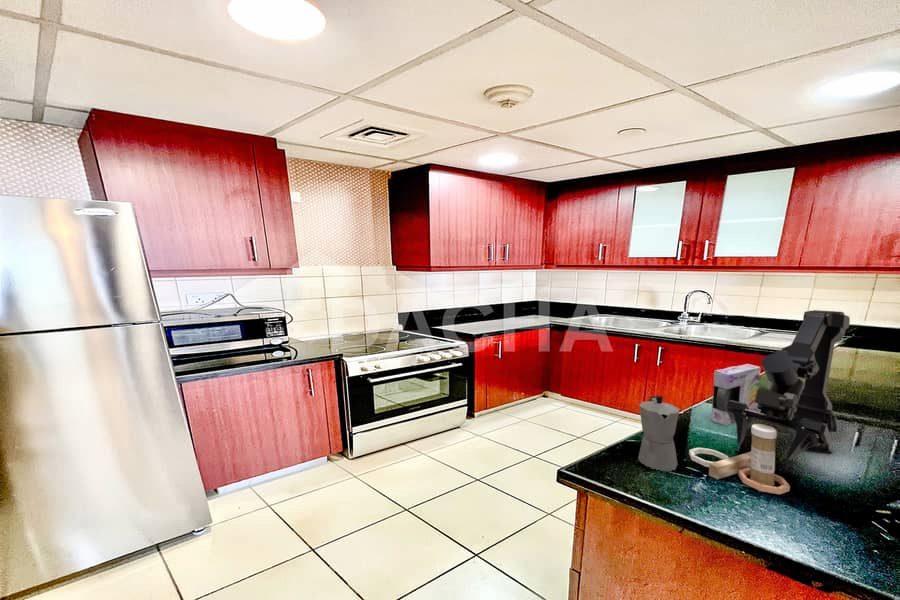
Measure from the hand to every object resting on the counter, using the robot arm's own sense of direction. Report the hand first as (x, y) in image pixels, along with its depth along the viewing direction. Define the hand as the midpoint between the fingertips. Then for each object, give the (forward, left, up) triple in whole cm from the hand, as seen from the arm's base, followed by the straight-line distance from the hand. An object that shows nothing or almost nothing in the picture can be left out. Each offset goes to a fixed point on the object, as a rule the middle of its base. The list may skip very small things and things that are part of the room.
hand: (762, 451), depth 87 cm
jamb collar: (+8, -9, -8) cm, 15 cm away
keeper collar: (-1, -1, -8) cm, 8 cm away
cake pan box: (-6, -44, -8) cm, 45 cm away
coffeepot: (+21, -4, -8) cm, 23 cm away
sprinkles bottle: (-1, -1, -8) cm, 8 cm away
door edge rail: (+4, -5, -8) cm, 10 cm away
